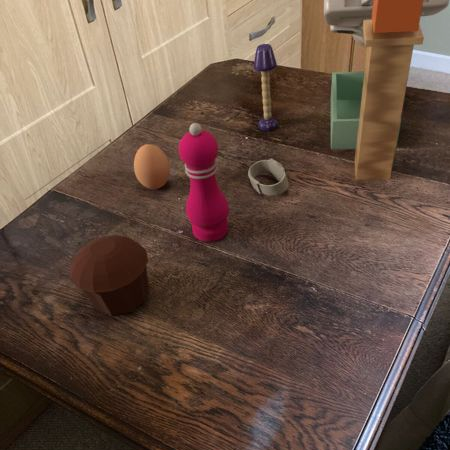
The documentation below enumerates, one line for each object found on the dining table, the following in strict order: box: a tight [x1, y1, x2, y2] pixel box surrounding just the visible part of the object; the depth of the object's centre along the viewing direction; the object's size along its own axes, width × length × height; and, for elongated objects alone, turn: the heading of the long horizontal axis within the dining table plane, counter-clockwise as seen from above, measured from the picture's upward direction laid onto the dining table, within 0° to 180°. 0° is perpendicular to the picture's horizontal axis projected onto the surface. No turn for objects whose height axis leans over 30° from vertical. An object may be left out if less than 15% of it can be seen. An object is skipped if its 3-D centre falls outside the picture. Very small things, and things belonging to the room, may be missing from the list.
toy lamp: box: [253, 43, 278, 132], centre depth 103 cm, size 5×5×17 cm
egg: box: [133, 143, 171, 190], centre depth 94 cm, size 7×7×9 cm
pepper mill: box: [178, 122, 230, 243], centre depth 79 cm, size 7×7×20 cm
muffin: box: [69, 234, 149, 317], centre depth 74 cm, size 12×11×10 cm
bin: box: [330, 70, 402, 150], centre depth 103 cm, size 13×22×6 cm, turn 172°
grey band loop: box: [247, 157, 290, 196], centre depth 91 cm, size 9×6×5 cm
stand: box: [354, 19, 425, 181], centre depth 83 cm, size 8×8×26 cm
